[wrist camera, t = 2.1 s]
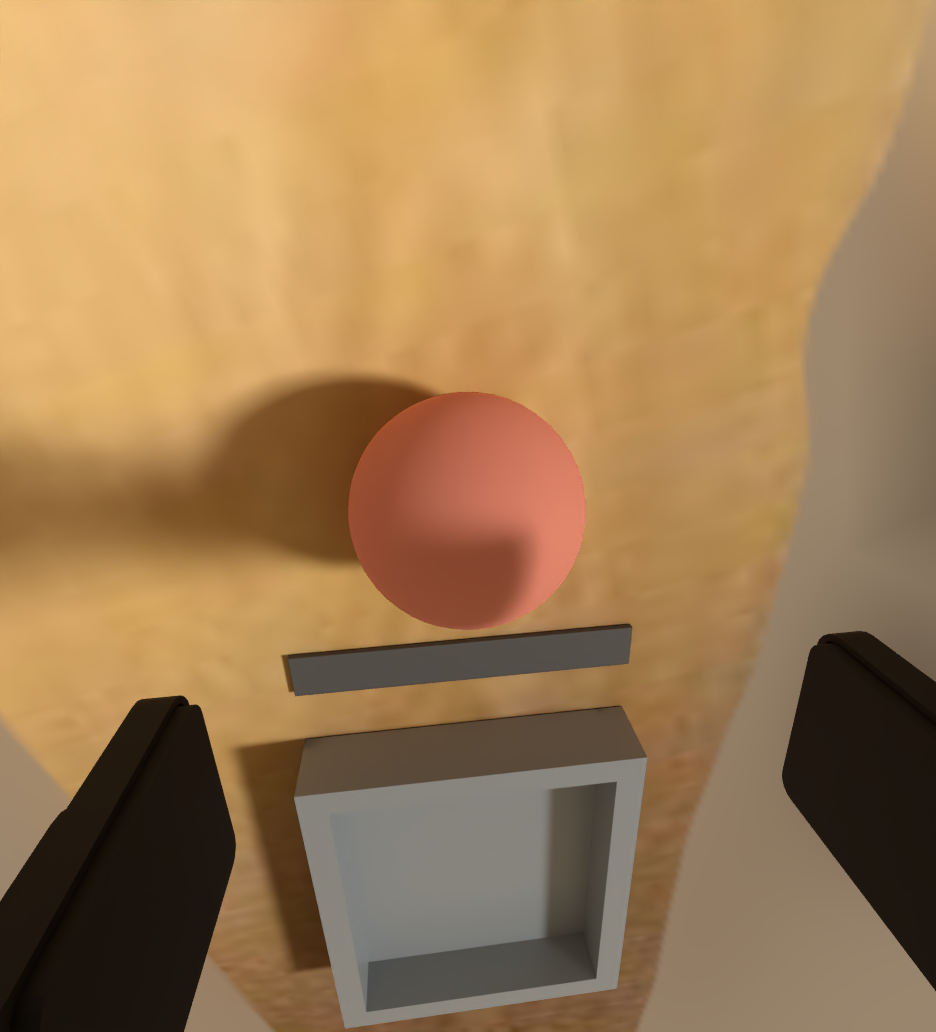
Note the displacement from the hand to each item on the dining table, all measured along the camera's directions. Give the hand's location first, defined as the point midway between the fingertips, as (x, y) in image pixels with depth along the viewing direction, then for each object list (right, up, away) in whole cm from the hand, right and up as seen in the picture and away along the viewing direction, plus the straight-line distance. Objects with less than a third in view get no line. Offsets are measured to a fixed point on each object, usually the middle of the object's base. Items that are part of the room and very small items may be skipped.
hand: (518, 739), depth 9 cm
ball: (-1, +4, +6) cm, 7 cm away
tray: (-1, -11, +16) cm, 19 cm away
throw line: (-1, -2, +11) cm, 12 cm away
